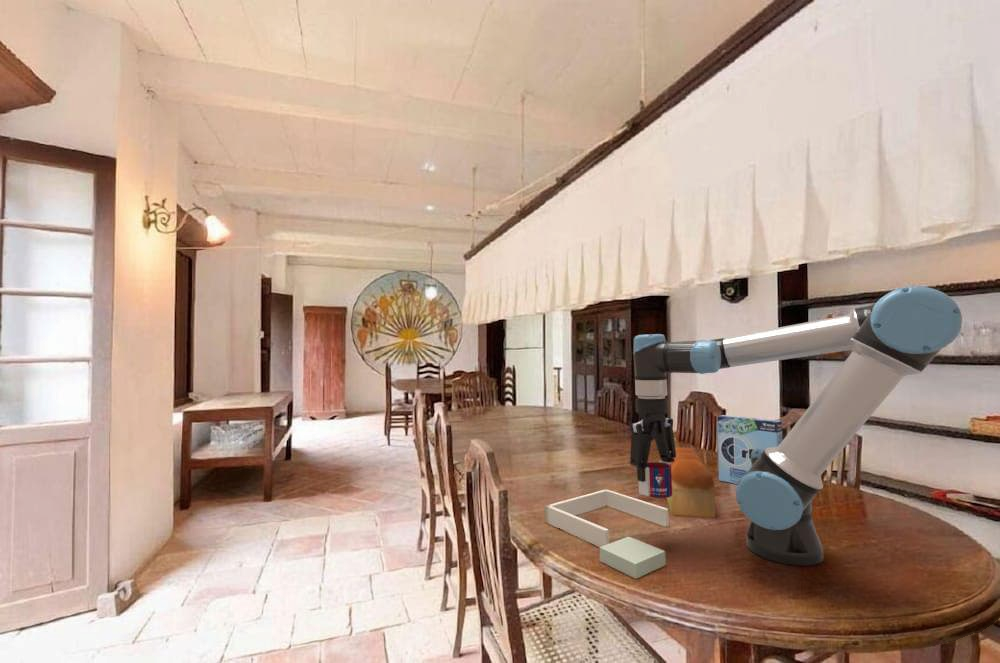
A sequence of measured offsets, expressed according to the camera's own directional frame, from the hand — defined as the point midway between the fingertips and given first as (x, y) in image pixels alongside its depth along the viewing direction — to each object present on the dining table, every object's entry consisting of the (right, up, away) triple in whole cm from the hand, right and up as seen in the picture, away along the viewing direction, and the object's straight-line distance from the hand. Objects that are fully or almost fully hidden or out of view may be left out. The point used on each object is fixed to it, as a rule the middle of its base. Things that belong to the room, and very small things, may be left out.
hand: (655, 491), depth 111 cm
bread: (+20, -14, +29) cm, 38 cm away
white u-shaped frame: (-9, -13, +13) cm, 21 cm away
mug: (+1, -1, +1) cm, 1 cm away
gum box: (+48, -14, +45) cm, 67 cm away
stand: (-9, -12, -10) cm, 18 cm away
